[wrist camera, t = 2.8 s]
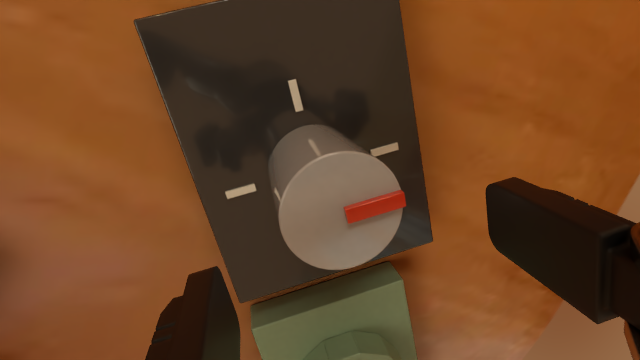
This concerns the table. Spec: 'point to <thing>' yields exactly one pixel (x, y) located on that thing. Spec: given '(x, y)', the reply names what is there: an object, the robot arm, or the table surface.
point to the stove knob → (333, 198)
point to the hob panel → (283, 113)
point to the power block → (338, 320)
